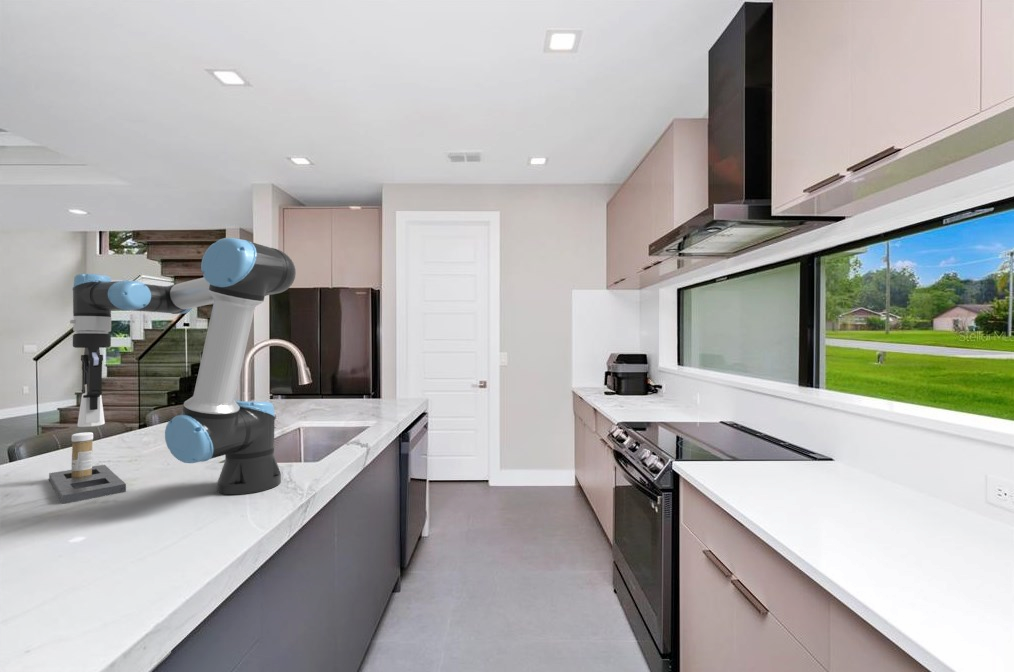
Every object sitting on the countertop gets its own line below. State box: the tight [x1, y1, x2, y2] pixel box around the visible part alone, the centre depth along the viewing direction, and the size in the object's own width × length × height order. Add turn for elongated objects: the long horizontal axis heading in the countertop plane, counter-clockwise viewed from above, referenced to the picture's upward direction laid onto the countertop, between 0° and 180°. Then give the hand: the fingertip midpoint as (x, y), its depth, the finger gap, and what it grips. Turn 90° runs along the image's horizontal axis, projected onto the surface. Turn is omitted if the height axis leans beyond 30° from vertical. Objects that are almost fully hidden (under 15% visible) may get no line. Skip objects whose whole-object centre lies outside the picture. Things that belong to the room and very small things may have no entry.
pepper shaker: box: [77, 384, 106, 428], centre depth 121 cm, size 5×5×11 cm
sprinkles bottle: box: [70, 431, 94, 478], centre depth 130 cm, size 5×5×14 cm
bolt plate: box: [48, 464, 127, 505], centre depth 125 cm, size 30×12×2 cm, turn 49°
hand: (91, 421), depth 121 cm, fingers closed on pepper shaker, 4 cm apart
